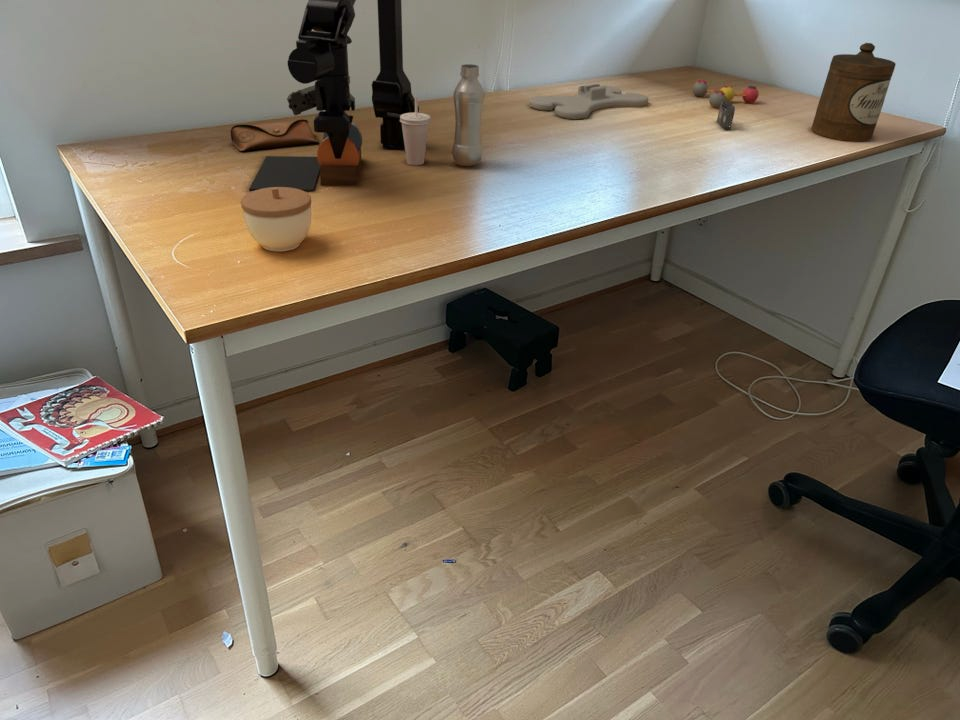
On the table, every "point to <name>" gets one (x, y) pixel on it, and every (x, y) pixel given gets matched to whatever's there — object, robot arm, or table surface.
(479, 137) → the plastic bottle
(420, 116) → the smoothie
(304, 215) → the trinket box
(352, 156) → the terracotta coaster
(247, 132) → the sunglasses case
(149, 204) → the table surface
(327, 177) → the coaster rack
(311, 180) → the grey mat
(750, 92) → the molecule model
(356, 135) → the blue-grey coaster
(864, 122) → the wooden container
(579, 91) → the holder
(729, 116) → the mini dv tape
